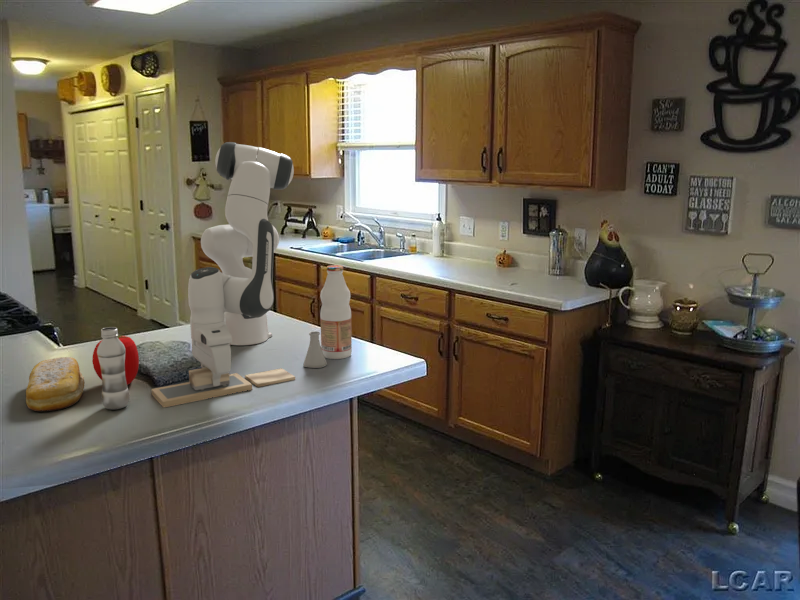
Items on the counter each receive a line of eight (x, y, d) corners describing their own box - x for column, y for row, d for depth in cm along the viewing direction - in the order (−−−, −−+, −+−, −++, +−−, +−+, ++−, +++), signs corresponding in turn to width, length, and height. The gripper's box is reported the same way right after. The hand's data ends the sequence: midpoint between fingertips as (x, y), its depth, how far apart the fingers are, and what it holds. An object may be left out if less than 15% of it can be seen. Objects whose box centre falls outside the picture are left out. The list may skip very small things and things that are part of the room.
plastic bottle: (102, 414, 158) (94, 333, 153) (102, 404, 164) (94, 327, 160) (131, 410, 160) (124, 331, 156) (130, 401, 166) (123, 324, 162)
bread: (83, 376, 185) (80, 349, 183) (88, 408, 162) (84, 377, 160) (29, 384, 179) (25, 356, 177) (25, 418, 156) (21, 386, 155)
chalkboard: (151, 394, 171) (151, 388, 171) (237, 378, 184) (236, 372, 183) (163, 407, 162) (163, 401, 162) (252, 389, 175) (251, 384, 174)
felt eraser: (189, 385, 173) (188, 370, 172) (223, 378, 178) (222, 364, 177) (195, 390, 169) (194, 375, 168) (229, 383, 174) (228, 369, 173)
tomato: (136, 391, 173) (132, 339, 170) (90, 394, 171) (84, 342, 168) (144, 376, 185) (140, 327, 182) (101, 378, 183) (96, 329, 180)
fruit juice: (320, 360, 200) (318, 269, 194) (321, 351, 209) (319, 264, 203) (352, 359, 201) (350, 268, 195) (351, 350, 210) (350, 263, 204)
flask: (323, 369, 191) (322, 336, 189) (299, 368, 193) (298, 335, 190) (330, 362, 198) (329, 330, 196) (307, 360, 200) (306, 328, 197)
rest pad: (245, 377, 184) (245, 375, 184) (281, 370, 190) (281, 368, 190) (257, 387, 177) (257, 384, 176) (295, 379, 183) (295, 376, 183)
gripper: (184, 324, 177) (187, 373, 180) (209, 341, 161) (213, 395, 164) (207, 321, 181) (210, 369, 184) (234, 337, 164) (237, 390, 167)
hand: (211, 381), depth 174 cm, fingers closed on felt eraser, 5 cm apart
